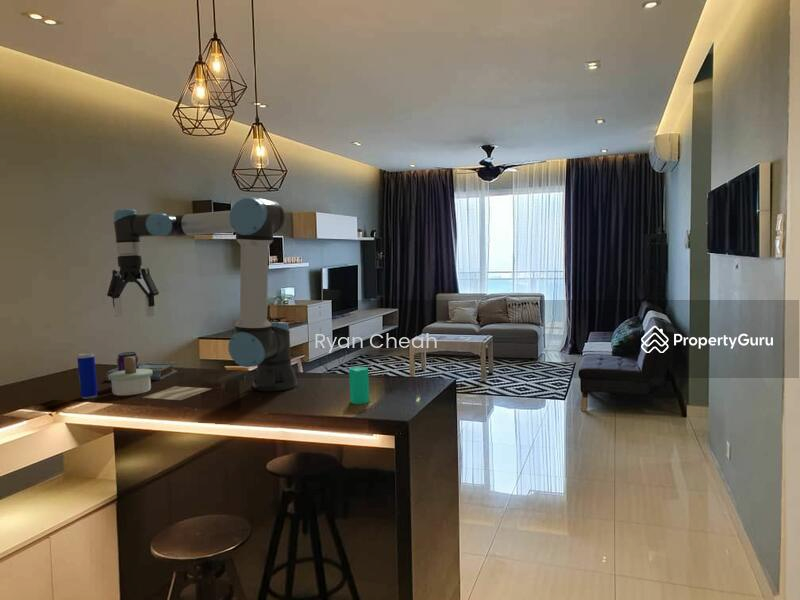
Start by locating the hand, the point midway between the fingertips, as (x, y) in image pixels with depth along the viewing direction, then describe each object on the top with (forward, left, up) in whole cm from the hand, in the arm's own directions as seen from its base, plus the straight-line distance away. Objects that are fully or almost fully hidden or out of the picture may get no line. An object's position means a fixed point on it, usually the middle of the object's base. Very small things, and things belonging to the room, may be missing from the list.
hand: (134, 316), depth 207 cm
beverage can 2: (+13, -8, -27) cm, 31 cm away
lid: (+2, +2, -21) cm, 21 cm away
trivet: (-17, +1, -27) cm, 32 cm away
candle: (-82, -5, -27) cm, 86 cm away
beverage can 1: (+13, +10, -27) cm, 32 cm away
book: (+20, -22, -27) cm, 41 cm away
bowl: (+2, +2, -27) cm, 27 cm away
